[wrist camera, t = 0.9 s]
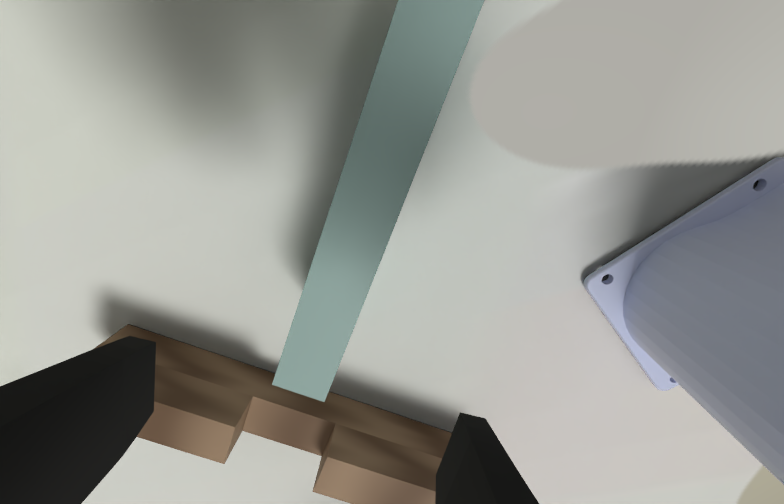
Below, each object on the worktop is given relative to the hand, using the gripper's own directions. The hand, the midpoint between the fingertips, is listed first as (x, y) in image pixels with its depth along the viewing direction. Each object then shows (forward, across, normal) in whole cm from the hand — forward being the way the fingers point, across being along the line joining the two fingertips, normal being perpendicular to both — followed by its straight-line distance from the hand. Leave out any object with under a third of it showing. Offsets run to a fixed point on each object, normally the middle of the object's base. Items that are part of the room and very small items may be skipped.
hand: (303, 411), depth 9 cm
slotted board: (+10, +2, +9) cm, 14 cm away
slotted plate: (+10, 0, -4) cm, 11 cm away
